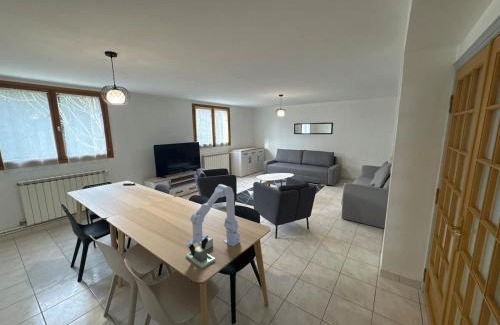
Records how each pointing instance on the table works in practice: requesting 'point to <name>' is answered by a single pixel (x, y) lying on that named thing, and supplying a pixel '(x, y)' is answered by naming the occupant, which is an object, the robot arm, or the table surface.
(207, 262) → the tray
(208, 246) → the bay
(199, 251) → the grey block yellow label
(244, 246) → the table surface
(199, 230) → the robot arm
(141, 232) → the table surface
